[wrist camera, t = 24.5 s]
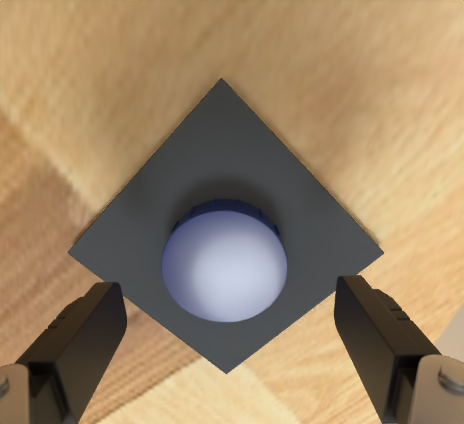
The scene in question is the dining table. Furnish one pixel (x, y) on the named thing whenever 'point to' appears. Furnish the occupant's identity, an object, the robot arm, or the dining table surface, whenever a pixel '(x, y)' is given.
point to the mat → (225, 187)
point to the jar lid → (224, 261)
